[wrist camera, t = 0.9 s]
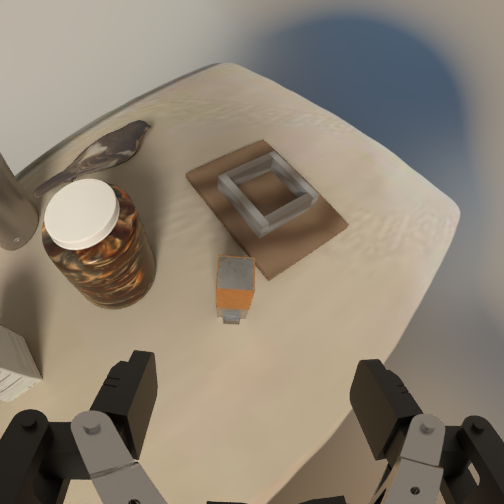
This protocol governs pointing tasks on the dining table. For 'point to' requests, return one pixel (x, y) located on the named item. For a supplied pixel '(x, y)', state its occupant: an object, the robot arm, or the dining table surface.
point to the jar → (99, 243)
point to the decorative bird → (100, 155)
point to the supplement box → (15, 366)
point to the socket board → (266, 206)
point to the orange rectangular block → (234, 287)
